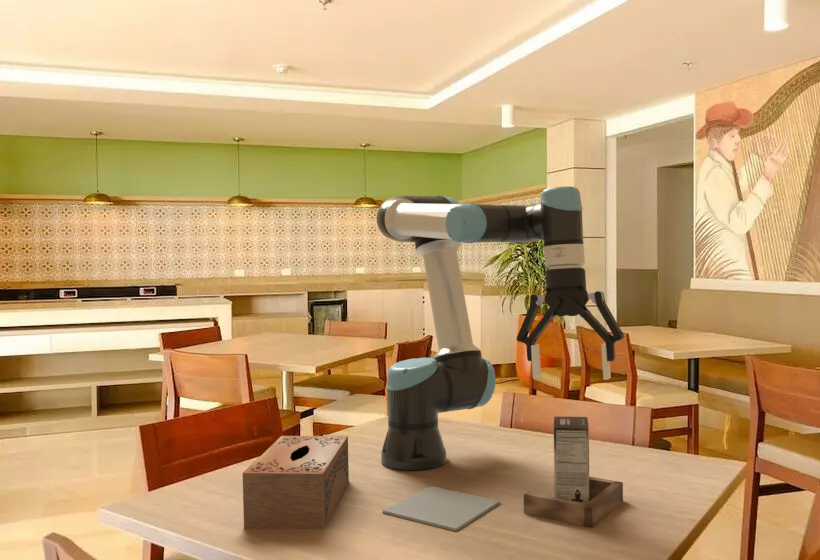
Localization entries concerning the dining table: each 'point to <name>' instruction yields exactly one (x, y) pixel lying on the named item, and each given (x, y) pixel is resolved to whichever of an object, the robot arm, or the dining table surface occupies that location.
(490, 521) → the dining table surface
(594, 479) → the wooden u-shaped frame
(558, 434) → the coffee box
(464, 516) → the grey mat
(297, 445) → the tissue box cover
